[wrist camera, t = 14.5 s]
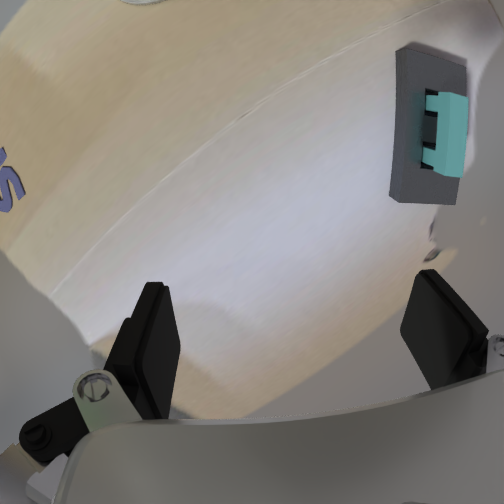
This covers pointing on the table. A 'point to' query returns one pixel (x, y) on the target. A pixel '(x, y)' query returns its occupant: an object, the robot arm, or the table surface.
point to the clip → (448, 133)
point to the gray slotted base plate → (421, 127)
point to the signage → (3, 175)
